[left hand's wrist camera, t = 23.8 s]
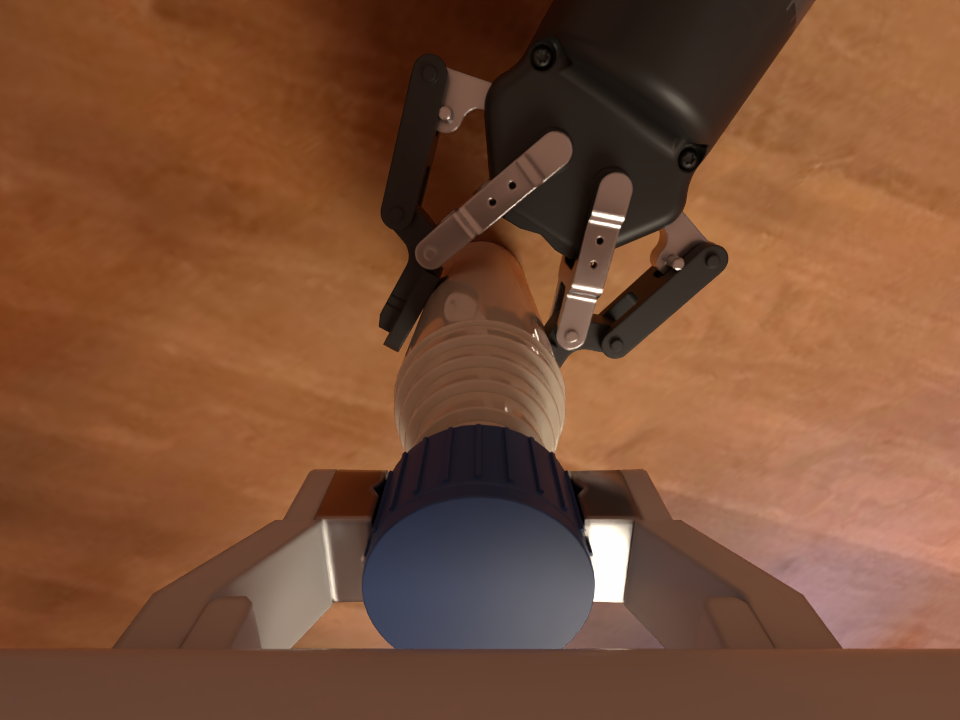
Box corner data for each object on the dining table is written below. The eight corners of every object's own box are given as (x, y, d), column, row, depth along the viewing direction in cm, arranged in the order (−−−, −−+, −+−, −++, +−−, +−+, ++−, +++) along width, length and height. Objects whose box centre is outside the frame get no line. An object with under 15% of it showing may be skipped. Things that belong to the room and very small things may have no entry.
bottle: (417, 282, 28) (276, 548, 9) (485, 221, 27) (495, 375, 8) (475, 346, 29) (465, 699, 10) (543, 291, 28) (677, 572, 9)
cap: (483, 381, 9) (485, 444, 7) (614, 509, 10) (648, 598, 8) (342, 501, 10) (307, 588, 8) (474, 607, 11) (474, 710, 9)
